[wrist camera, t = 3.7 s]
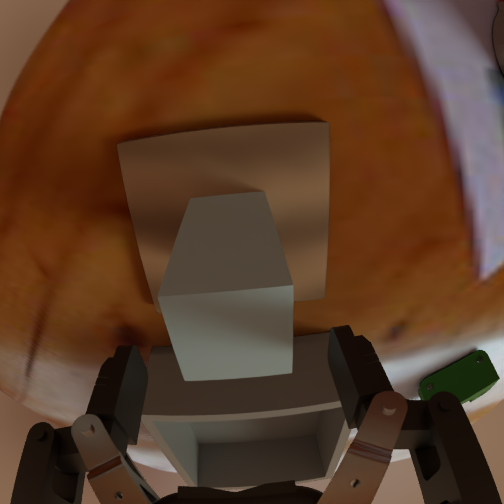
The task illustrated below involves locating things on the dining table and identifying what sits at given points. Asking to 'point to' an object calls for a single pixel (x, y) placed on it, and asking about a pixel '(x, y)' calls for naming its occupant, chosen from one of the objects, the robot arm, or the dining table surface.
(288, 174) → the stud block
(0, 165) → the dining table surface
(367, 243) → the dining table surface
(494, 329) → the dining table surface
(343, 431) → the bin
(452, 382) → the clamp
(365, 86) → the dining table surface
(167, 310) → the pale grey rectangular block
